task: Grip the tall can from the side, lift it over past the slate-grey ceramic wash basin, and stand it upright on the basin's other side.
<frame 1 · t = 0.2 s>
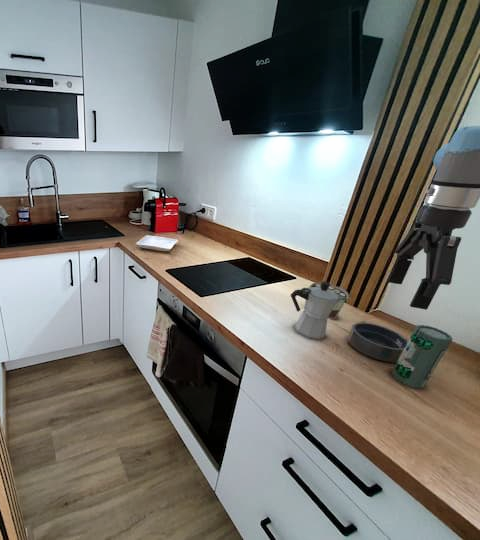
hand: (405, 294, 69), 23 cm above the worktop, tool pointing down, fingers open, 13 cm apart
can: (407, 379, 75), on the worktop
coffee maker: (305, 331, 95), on the worktop
plate: (157, 246, 172), on the worktop
food container: (323, 311, 107), on the worktop
basin: (373, 348, 87), on the worktop
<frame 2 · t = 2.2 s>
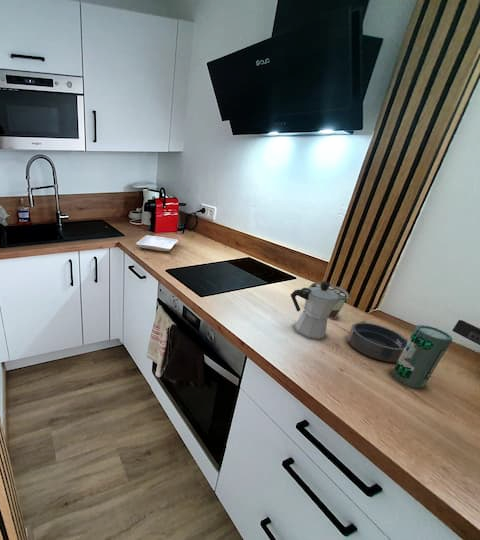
nothing on the worktop moved.
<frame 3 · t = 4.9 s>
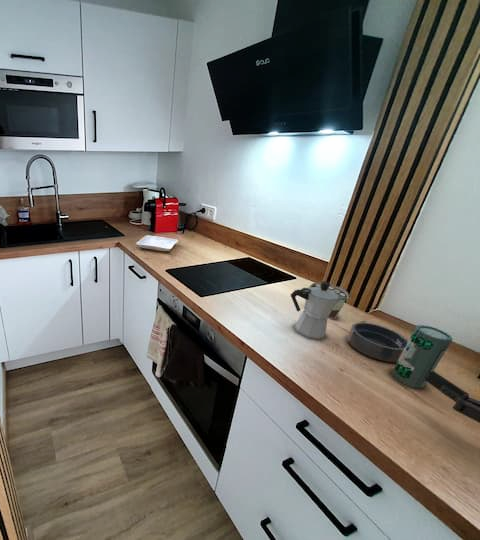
hand: (455, 374, 65), 9 cm above the worktop, tool horizontal, fingers open, 13 cm apart
nothing on the worktop moved.
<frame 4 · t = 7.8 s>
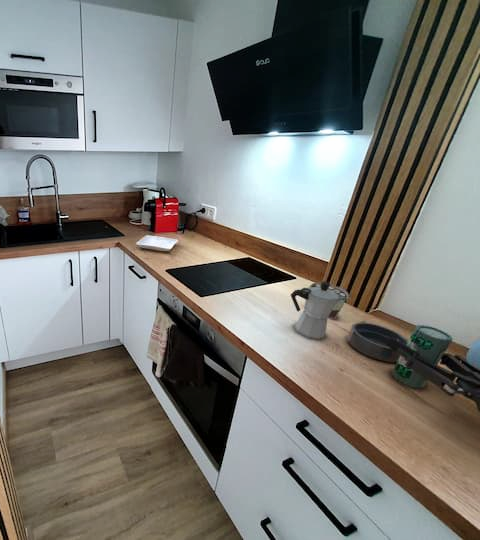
hand: (401, 341, 77), 8 cm above the worktop, tool horizontal, fingers closed on can, 6 cm apart
can: (407, 379, 75), on the worktop, touching gripper
everything else where it was.
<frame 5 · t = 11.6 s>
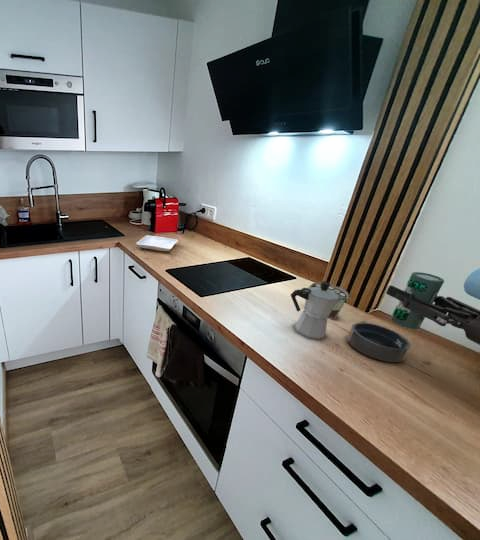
hand: (399, 289, 85), 18 cm above the worktop, tool horizontal, fingers closed on can, 6 cm apart
can: (404, 323, 84), point 9 cm above the worktop, touching gripper
everything else where it was.
when the fingers open (8 cm above the worktop, at t = 15.7 s): can stays where it is, on the worktop.
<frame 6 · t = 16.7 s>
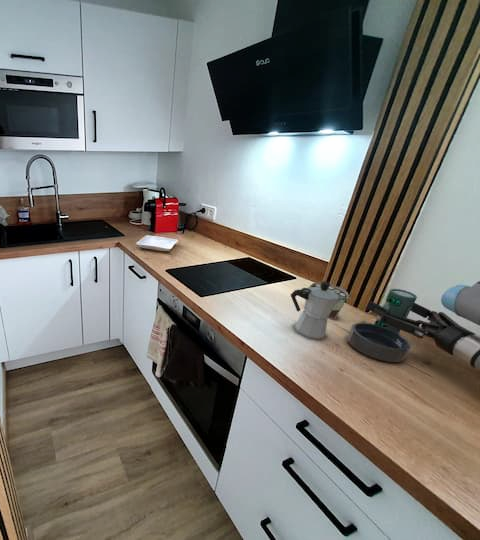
hand: (387, 304, 94), 9 cm above the worktop, tool horizontal, fingers open, 13 cm apart
can: (383, 333, 95), on the worktop
everything else where it was.
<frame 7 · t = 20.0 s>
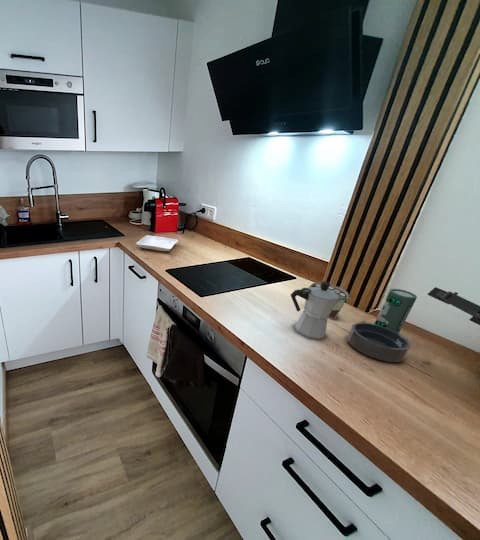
hand: (453, 304, 81), 16 cm above the worktop, tool horizontal, fingers open, 13 cm apart
nothing on the worktop moved.
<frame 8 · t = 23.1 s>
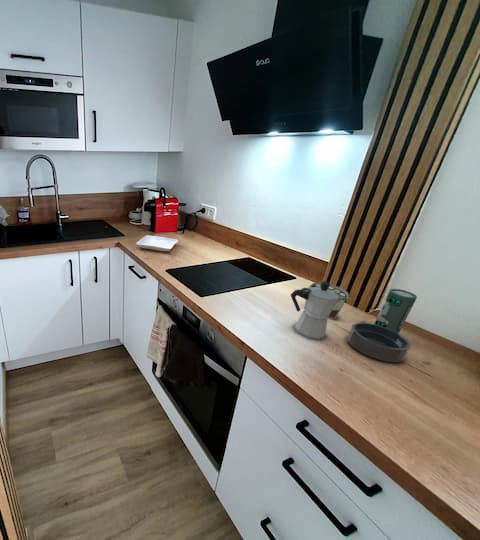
nothing on the worktop moved.
at the end: can inside the target area (0.5 cm from its centre), on the worktop; can tilted 0°; the gripper is holding nothing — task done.
